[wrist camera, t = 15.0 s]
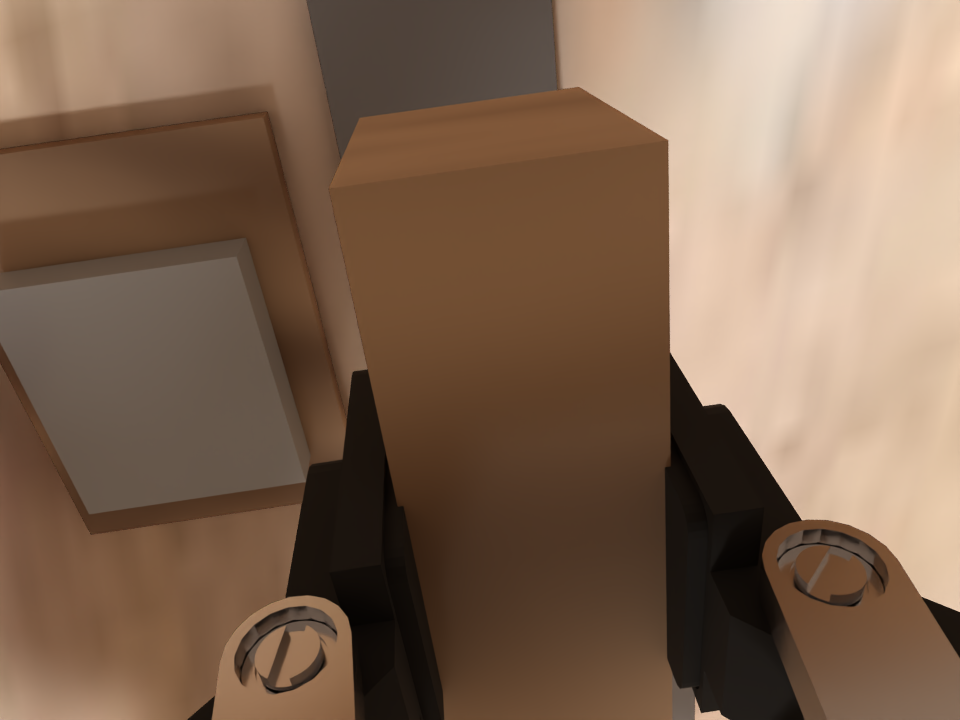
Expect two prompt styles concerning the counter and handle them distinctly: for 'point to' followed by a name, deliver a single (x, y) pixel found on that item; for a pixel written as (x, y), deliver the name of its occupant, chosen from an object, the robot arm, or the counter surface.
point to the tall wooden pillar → (523, 392)
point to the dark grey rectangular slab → (429, 54)
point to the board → (170, 224)
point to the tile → (155, 374)
